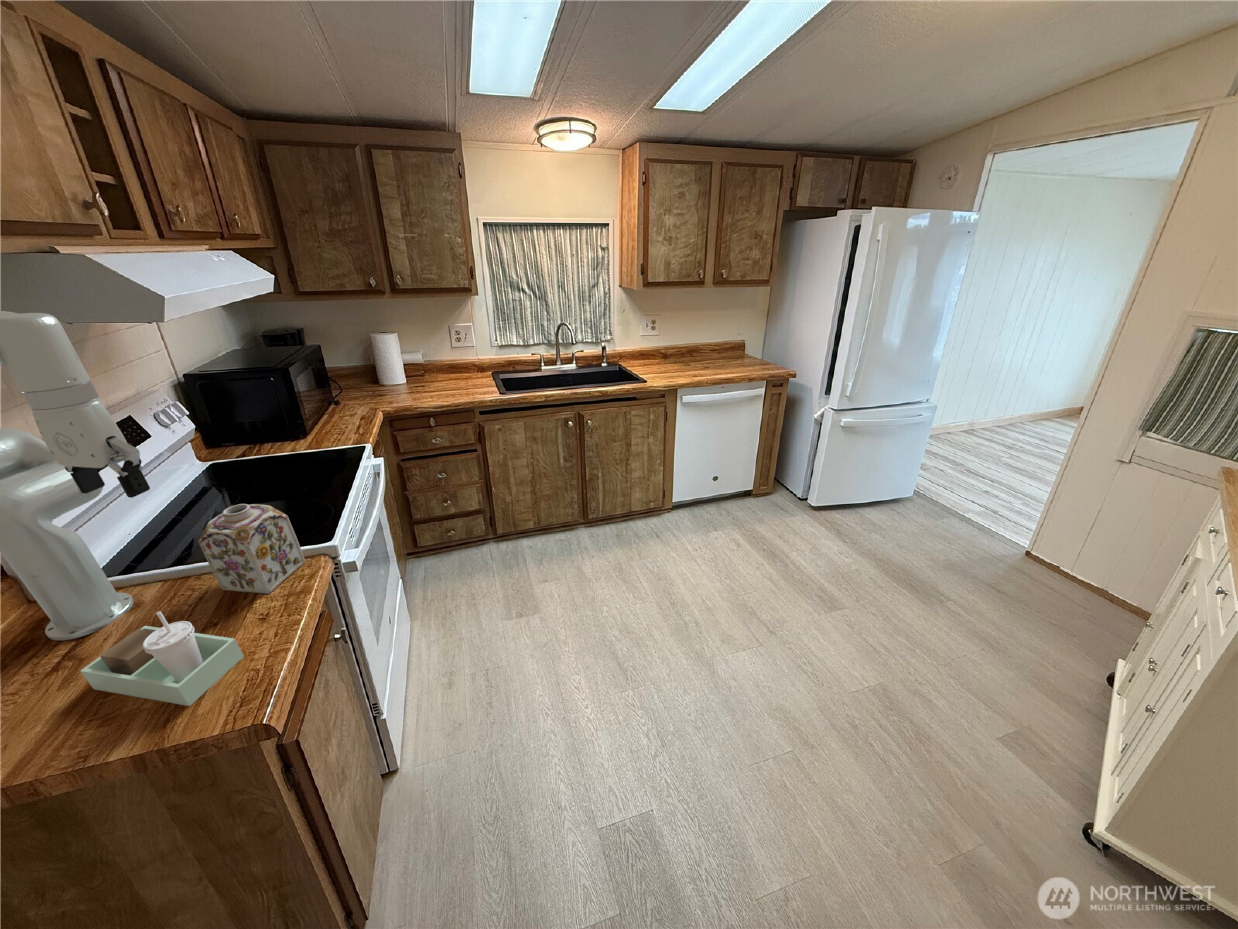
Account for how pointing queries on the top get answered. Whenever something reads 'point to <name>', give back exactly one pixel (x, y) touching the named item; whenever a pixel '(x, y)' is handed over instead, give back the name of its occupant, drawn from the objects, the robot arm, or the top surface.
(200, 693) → the tote
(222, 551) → the decorative jar
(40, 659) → the top surface
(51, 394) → the robot arm
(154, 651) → the white cup
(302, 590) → the top surface
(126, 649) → the walnut block
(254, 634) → the top surface
